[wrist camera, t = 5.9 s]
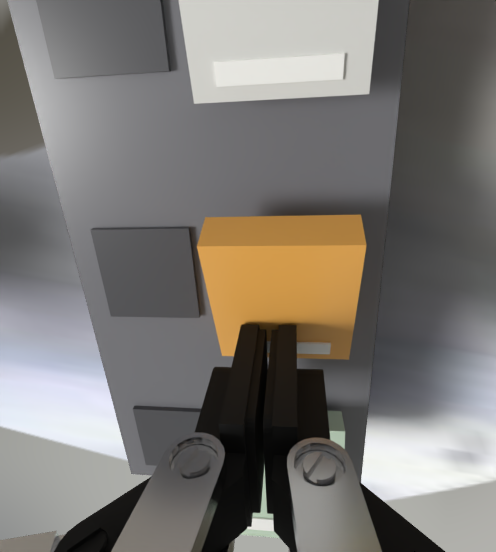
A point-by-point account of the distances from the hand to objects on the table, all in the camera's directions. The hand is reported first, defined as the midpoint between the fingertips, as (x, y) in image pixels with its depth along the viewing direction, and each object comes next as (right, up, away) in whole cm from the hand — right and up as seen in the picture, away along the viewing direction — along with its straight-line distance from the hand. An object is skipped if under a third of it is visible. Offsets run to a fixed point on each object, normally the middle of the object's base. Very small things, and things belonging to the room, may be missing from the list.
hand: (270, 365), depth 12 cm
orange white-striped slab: (0, +2, -1) cm, 2 cm away
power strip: (-1, +7, +3) cm, 8 cm away
